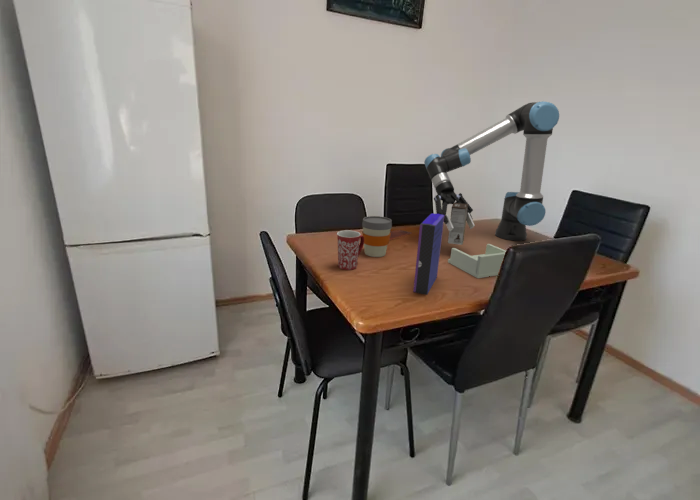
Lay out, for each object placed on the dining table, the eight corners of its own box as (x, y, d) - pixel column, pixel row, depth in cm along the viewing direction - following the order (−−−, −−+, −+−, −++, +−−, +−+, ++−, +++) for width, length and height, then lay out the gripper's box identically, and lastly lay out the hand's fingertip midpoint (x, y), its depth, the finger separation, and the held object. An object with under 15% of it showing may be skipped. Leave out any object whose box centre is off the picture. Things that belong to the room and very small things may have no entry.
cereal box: (424, 274, 150) (431, 212, 142) (437, 277, 148) (444, 214, 141) (413, 292, 135) (420, 223, 127) (427, 294, 133) (435, 225, 125)
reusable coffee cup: (395, 254, 171) (398, 220, 166) (377, 260, 162) (379, 225, 158) (373, 246, 179) (375, 214, 174) (354, 252, 170) (356, 219, 166)
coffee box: (449, 237, 178) (453, 202, 173) (464, 239, 176) (468, 203, 171) (447, 243, 170) (451, 206, 165) (462, 245, 168) (467, 208, 163)
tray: (485, 257, 172) (488, 238, 169) (517, 272, 157) (521, 251, 154) (447, 262, 164) (450, 242, 161) (477, 278, 149) (481, 257, 146)
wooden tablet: (379, 244, 185) (379, 241, 185) (364, 239, 192) (364, 235, 192) (415, 234, 203) (415, 231, 202) (400, 230, 209) (400, 227, 209)
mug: (346, 272, 149) (348, 238, 144) (331, 265, 155) (332, 232, 150) (370, 265, 157) (372, 232, 152) (354, 259, 163) (356, 227, 159)
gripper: (459, 189, 185) (478, 230, 176) (417, 191, 176) (435, 235, 167) (468, 179, 178) (488, 221, 170) (425, 181, 169) (444, 226, 161)
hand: (462, 228), depth 169 cm, fingers closed on coffee box, 10 cm apart
